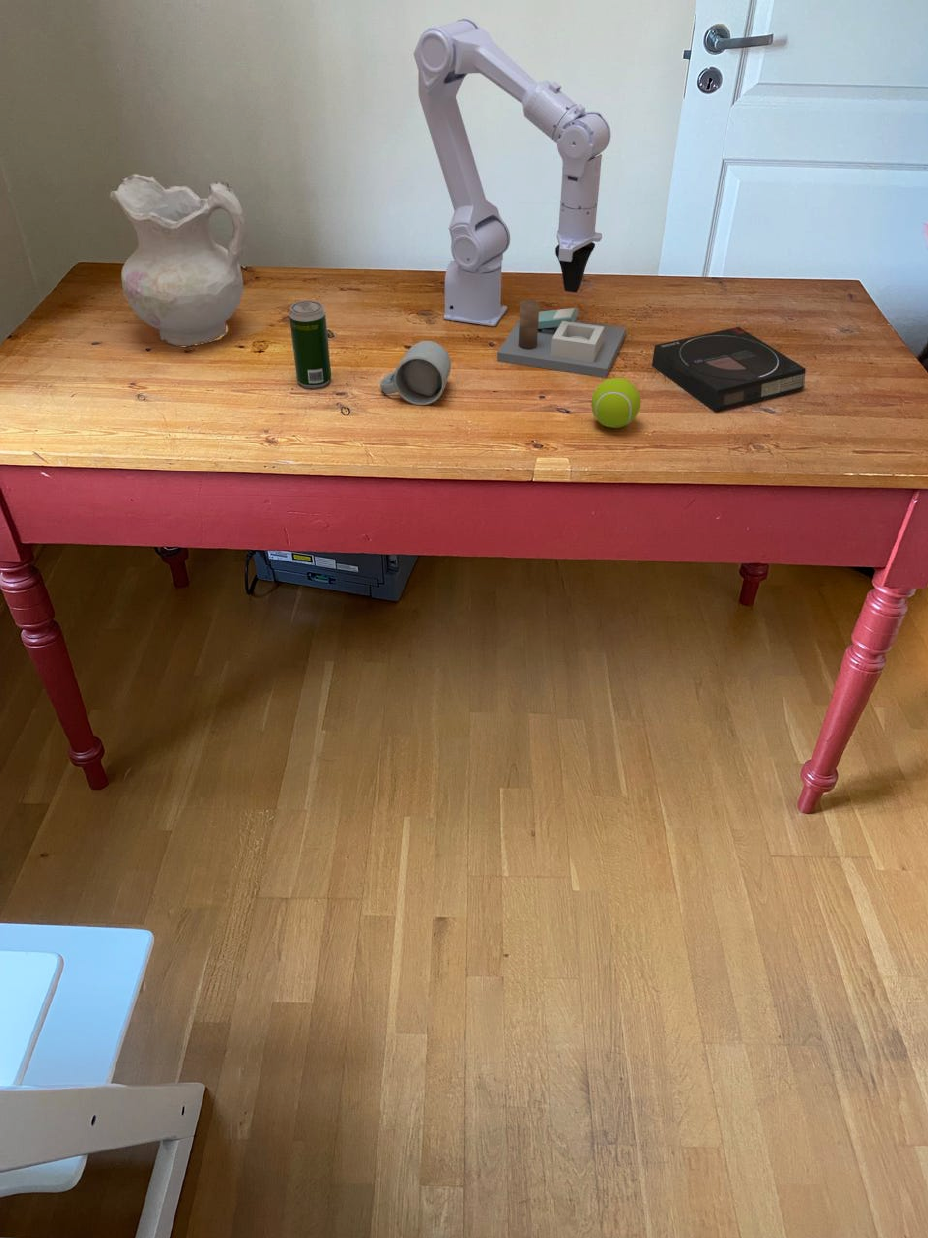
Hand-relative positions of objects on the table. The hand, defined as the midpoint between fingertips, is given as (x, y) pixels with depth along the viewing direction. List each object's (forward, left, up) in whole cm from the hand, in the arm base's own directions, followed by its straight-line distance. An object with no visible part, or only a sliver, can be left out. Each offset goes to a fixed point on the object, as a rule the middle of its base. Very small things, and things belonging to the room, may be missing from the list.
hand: (571, 290), depth 152 cm
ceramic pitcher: (-60, -17, -9) cm, 63 cm away
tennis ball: (+13, -25, -9) cm, 30 cm away
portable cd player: (+27, -5, -9) cm, 29 cm away
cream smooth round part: (+3, -7, -7) cm, 10 cm away
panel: (0, -3, -8) cm, 9 cm away
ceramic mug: (-18, -26, -9) cm, 33 cm away
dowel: (-5, -7, -7) cm, 11 cm away
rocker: (-3, 0, -5) cm, 6 cm away
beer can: (-34, -27, -9) cm, 45 cm away
